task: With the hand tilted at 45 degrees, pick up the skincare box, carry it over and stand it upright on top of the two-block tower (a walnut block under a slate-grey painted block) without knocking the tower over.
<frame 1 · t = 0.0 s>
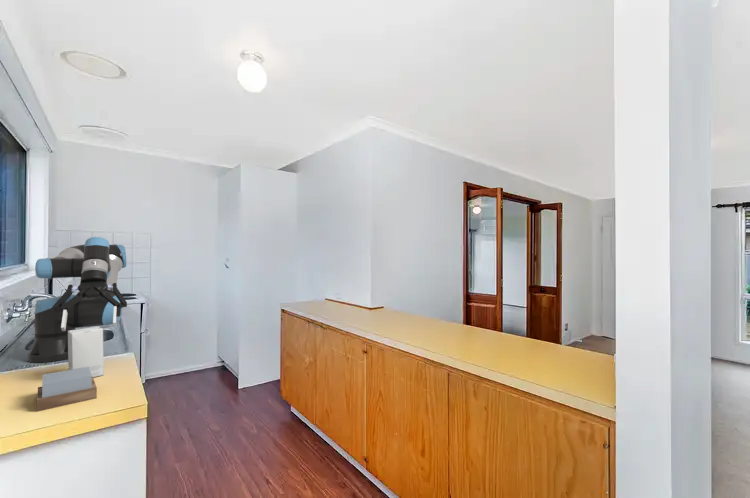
hand: (89, 327, 119), 15 cm above the counter, tool tilted 35°, fingers open, 13 cm apart
tower top: (67, 387, 98), point 3 cm above the counter, touching tower base
tower base: (67, 400, 98), on the counter, touching tower top
skincare box: (85, 377, 114), on the counter
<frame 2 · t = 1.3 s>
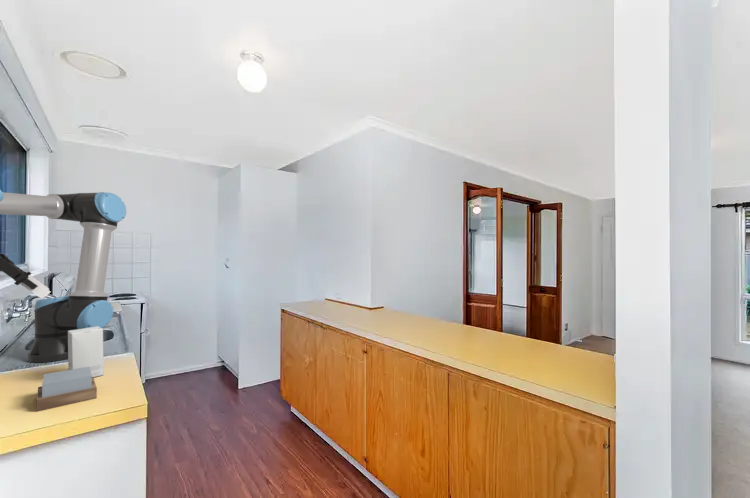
hand: (46, 293, 108), 28 cm above the counter, tool tilted 45°, fingers open, 13 cm apart
tower top: (67, 387, 98), point 3 cm above the counter
tower base: (67, 400, 98), on the counter
everything else where it was.
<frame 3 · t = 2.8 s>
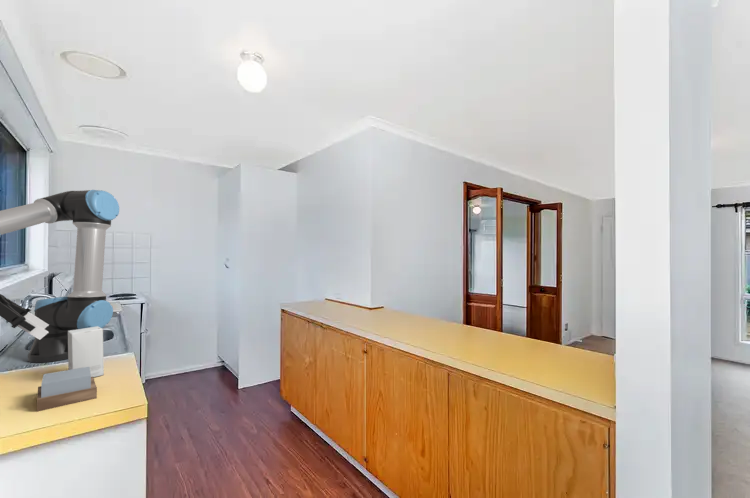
hand: (44, 332, 107), 16 cm above the counter, tool tilted 45°, fingers open, 13 cm apart
nothing on the counter moved.
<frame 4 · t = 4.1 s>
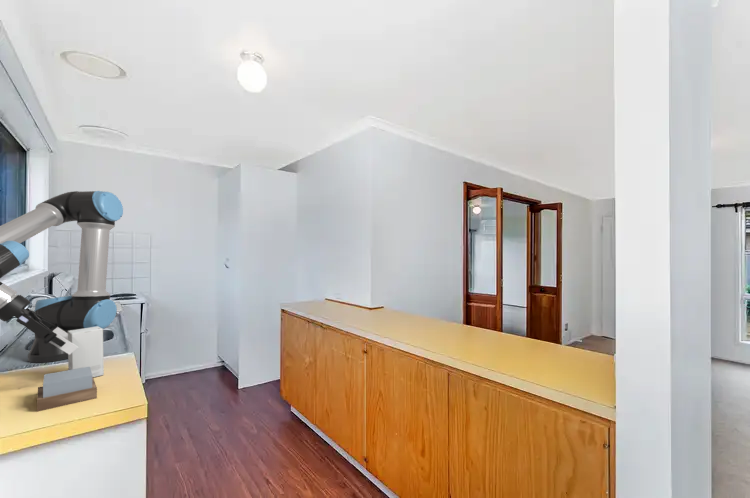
hand: (73, 346, 111), 11 cm above the counter, tool tilted 45°, fingers open, 13 cm apart
tower top: (68, 387, 98), point 3 cm above the counter, touching tower base
tower base: (67, 400, 98), on the counter, touching tower top
everything else where it was.
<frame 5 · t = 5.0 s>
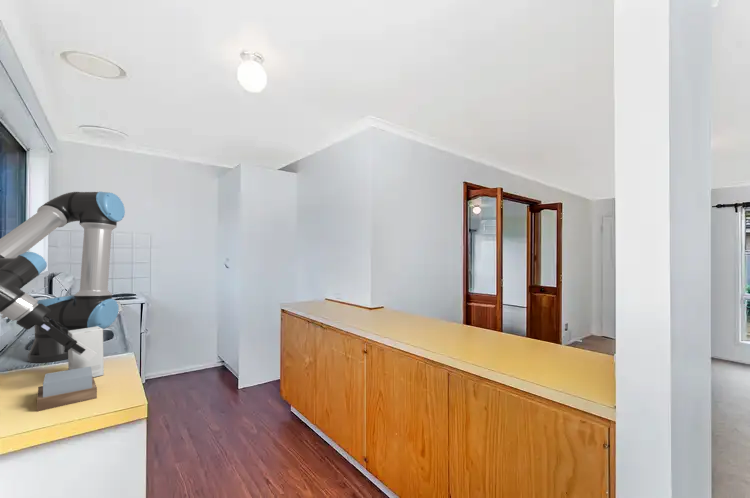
hand: (91, 352, 115), 8 cm above the counter, tool tilted 45°, fingers open, 13 cm apart
nothing on the counter moved.
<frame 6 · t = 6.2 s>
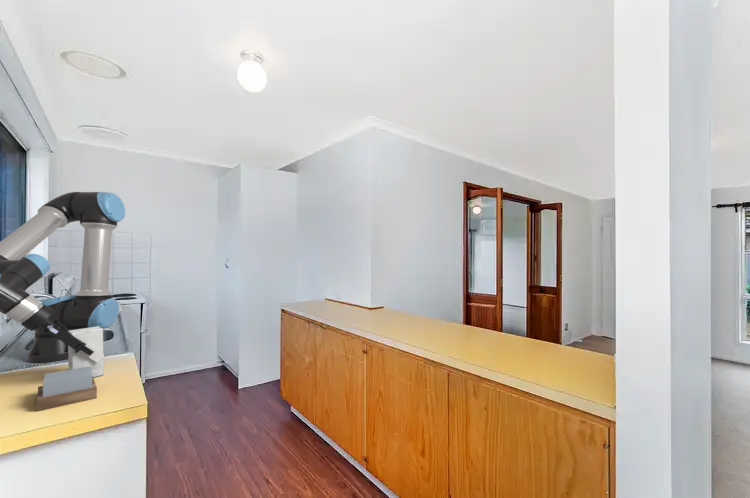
hand: (99, 356, 117), 6 cm above the counter, tool tilted 45°, fingers closed on skincare box, 7 cm apart
skincare box: (85, 377, 114), on the counter, touching gripper
everything else where it was.
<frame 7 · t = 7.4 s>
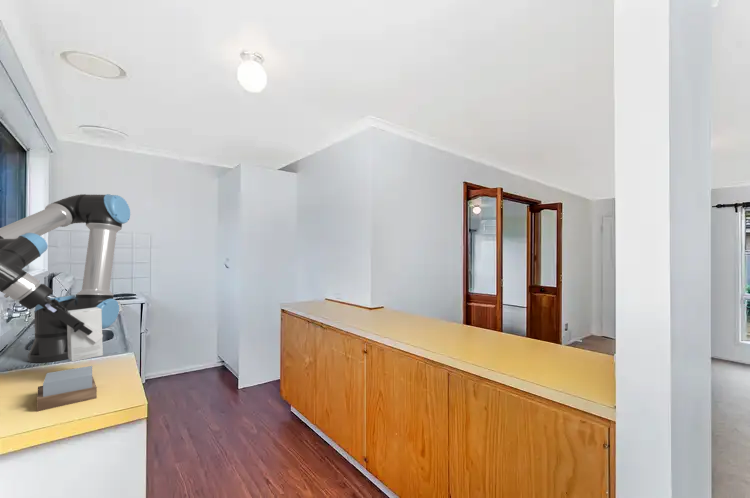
hand: (98, 336, 116), 13 cm above the counter, tool tilted 45°, fingers closed on skincare box, 7 cm apart
tower top: (69, 386, 99), point 3 cm above the counter
tower base: (67, 399, 98), on the counter
skincare box: (85, 357, 114), point 6 cm above the counter, touching gripper
when the fingers open (14 cm above the counter, at t = 11.3 s): skincare box drops 2 cm, resting on tower top.
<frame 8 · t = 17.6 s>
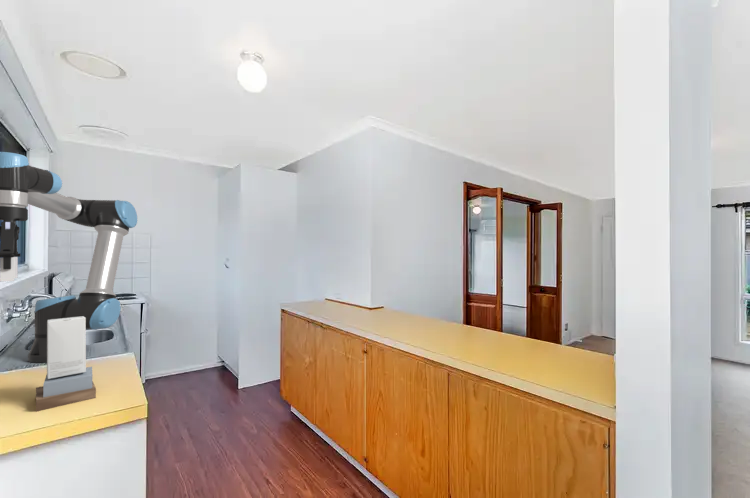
hand: (9, 279, 102), 33 cm above the counter, tool pointing down, fingers open, 13 cm apart
tower top: (69, 387, 99), point 3 cm above the counter, touching skincare box, tower base
tower base: (65, 400, 98), on the counter, touching tower top
skincare box: (65, 374, 98), point 6 cm above the counter, touching tower top
at the end: skincare box 0.8 cm off-centre on the tower top, point 3.4 cm above the tower top's base; skincare box tilted 2°; tower top 0.7 cm off-centre on the tower base, point 3.5 cm above the tower base's base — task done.
